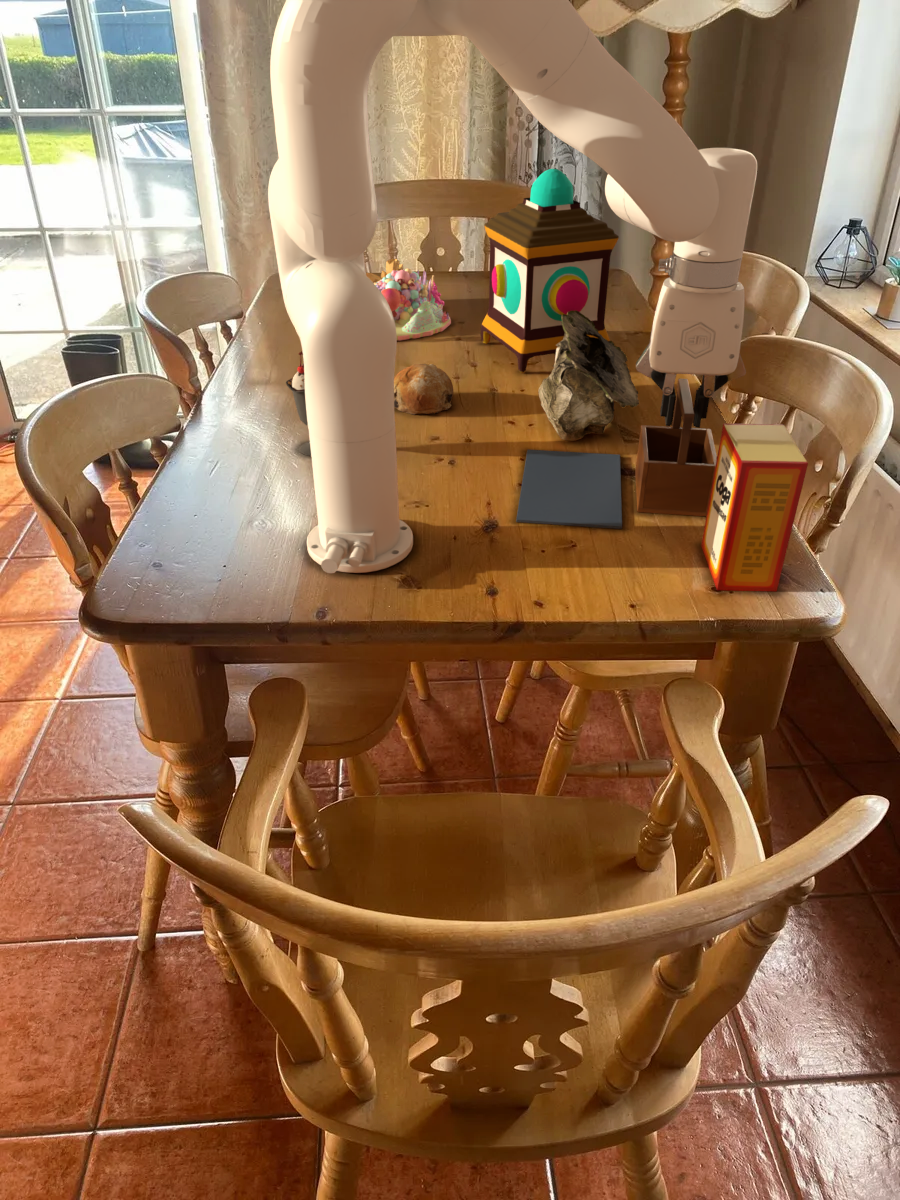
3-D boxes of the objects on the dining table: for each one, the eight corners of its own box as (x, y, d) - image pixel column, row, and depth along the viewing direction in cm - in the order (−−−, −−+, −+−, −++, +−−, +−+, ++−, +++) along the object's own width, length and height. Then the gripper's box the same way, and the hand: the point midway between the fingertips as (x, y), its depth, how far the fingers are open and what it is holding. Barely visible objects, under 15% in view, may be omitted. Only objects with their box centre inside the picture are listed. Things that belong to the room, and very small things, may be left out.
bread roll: (434, 439, 141) (455, 396, 136) (374, 408, 140) (394, 364, 135) (446, 413, 149) (467, 373, 144) (391, 384, 148) (410, 342, 143)
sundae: (296, 462, 127) (285, 357, 118) (290, 442, 132) (279, 340, 124) (343, 456, 128) (335, 352, 120) (335, 436, 134) (327, 336, 125)
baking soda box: (701, 545, 108) (723, 420, 99) (756, 546, 108) (784, 421, 99) (717, 590, 101) (743, 459, 91) (776, 591, 100) (808, 460, 91)
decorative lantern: (620, 362, 158) (640, 174, 141) (516, 378, 152) (524, 184, 135) (566, 327, 173) (578, 154, 156) (470, 341, 167) (471, 162, 150)
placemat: (621, 529, 112) (622, 526, 111) (516, 522, 113) (516, 519, 113) (619, 457, 128) (620, 454, 127) (527, 451, 129) (527, 449, 129)
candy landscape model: (307, 316, 179) (303, 268, 174) (399, 292, 192) (398, 246, 187) (387, 348, 164) (385, 296, 159) (481, 320, 177) (482, 271, 172)
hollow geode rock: (578, 403, 155) (520, 336, 151) (639, 354, 149) (580, 284, 145) (569, 472, 132) (500, 397, 128) (640, 419, 126) (570, 337, 121)
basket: (710, 517, 114) (728, 415, 106) (637, 512, 115) (650, 411, 107) (702, 476, 123) (719, 380, 115) (635, 472, 124) (647, 376, 116)
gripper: (632, 277, 100) (616, 431, 111) (784, 283, 99) (753, 439, 109) (631, 259, 107) (615, 407, 117) (774, 264, 105) (745, 413, 115)
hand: (682, 421), depth 113 cm, fingers closed
